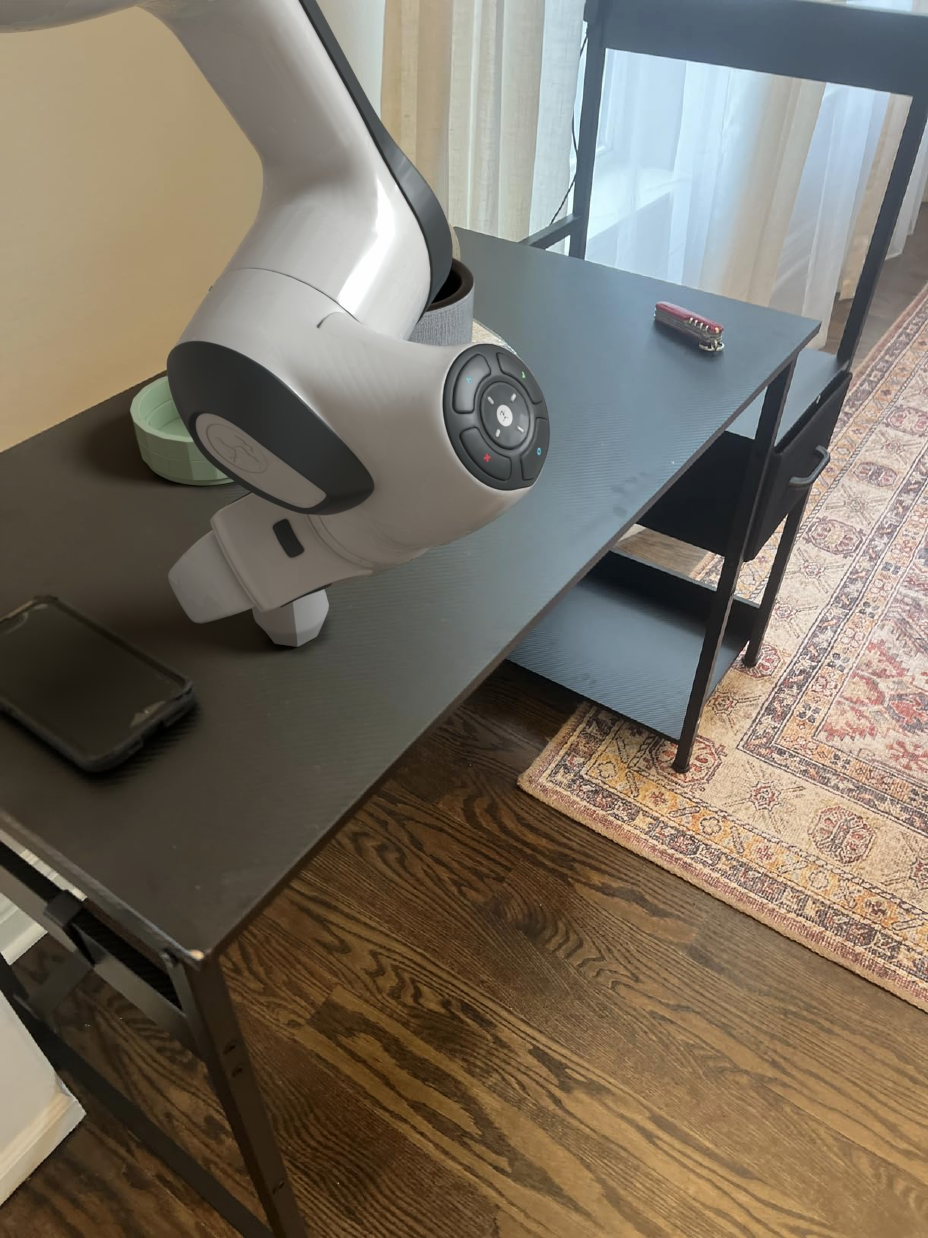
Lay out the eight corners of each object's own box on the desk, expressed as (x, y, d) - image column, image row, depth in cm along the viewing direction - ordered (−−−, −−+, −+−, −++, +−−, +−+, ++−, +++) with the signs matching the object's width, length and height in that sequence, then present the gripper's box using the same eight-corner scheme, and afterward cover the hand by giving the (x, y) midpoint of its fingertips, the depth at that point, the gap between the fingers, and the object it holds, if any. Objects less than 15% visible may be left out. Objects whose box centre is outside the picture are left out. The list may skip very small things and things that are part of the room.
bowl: (155, 500, 85) (144, 453, 81) (130, 426, 94) (119, 381, 90) (300, 470, 89) (295, 424, 86) (262, 401, 98) (257, 358, 95)
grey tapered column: (240, 641, 71) (217, 502, 63) (279, 596, 75) (261, 460, 67) (308, 663, 70) (293, 525, 61) (343, 616, 74) (334, 480, 65)
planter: (282, 415, 96) (266, 267, 85) (404, 370, 104) (403, 229, 93) (376, 486, 88) (371, 331, 77) (501, 431, 95) (512, 283, 85)
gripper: (458, 400, 62) (368, 463, 73) (189, 523, 51) (133, 573, 62) (502, 486, 62) (406, 534, 74) (246, 624, 52) (180, 655, 63)
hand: (279, 553), depth 68 cm, fingers closed on grey tapered column, 3 cm apart
